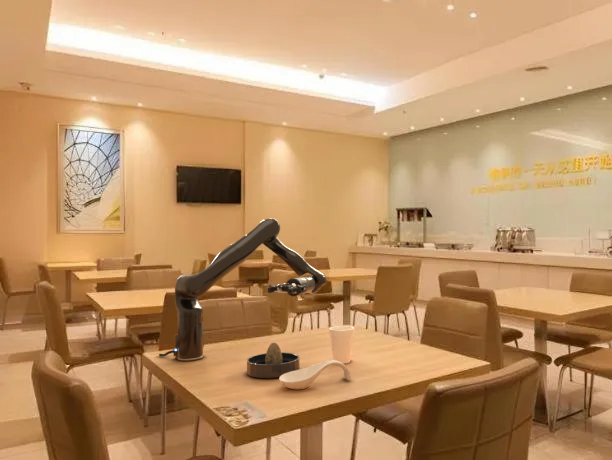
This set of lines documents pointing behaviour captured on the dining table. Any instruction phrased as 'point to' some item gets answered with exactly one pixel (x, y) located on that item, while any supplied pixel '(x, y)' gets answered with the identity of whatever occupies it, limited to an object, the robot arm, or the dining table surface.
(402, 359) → the dining table surface
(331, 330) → the foam cup
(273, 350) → the decorative egg
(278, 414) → the dining table surface
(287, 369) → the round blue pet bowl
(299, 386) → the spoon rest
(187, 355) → the robot arm
